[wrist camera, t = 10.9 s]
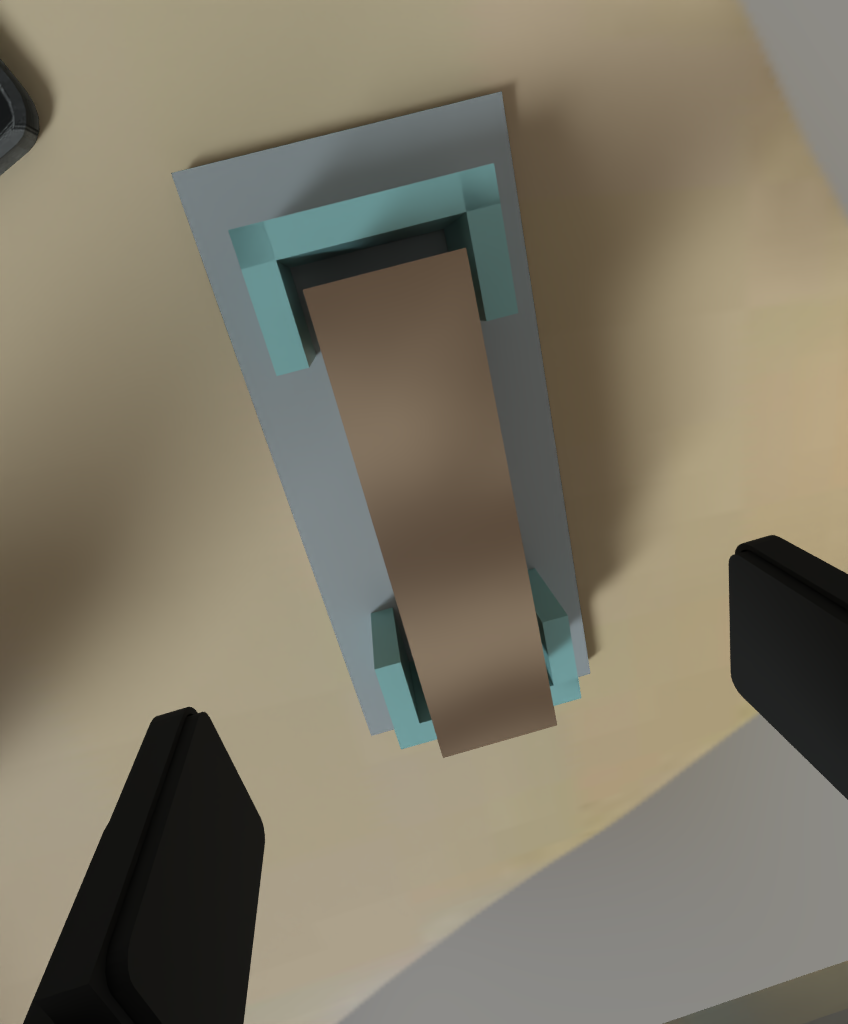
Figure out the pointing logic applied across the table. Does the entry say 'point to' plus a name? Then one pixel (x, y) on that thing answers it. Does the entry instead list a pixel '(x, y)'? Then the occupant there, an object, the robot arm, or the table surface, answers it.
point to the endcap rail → (305, 382)
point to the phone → (15, 120)
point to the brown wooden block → (438, 491)
